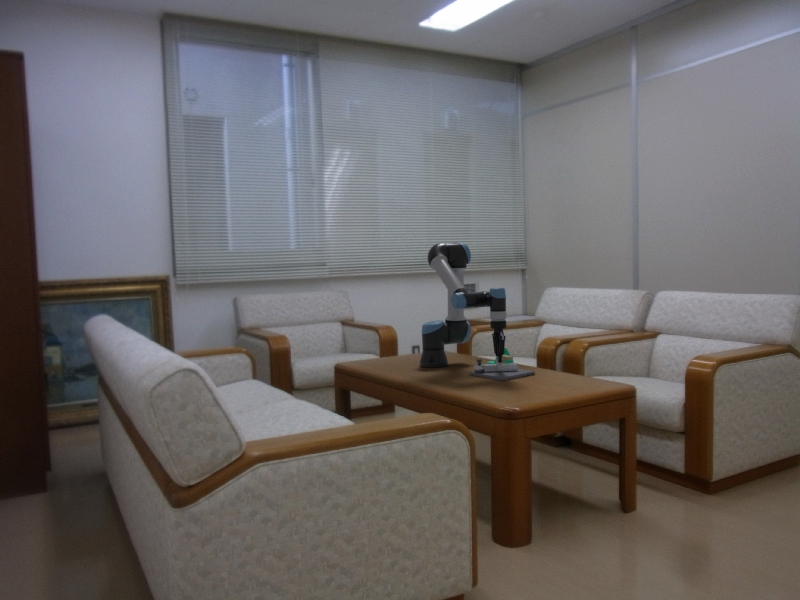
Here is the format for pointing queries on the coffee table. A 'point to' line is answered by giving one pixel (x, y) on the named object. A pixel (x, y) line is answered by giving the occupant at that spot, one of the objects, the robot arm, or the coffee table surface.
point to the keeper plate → (503, 372)
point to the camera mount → (505, 360)
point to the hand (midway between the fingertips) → (499, 369)
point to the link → (494, 367)
